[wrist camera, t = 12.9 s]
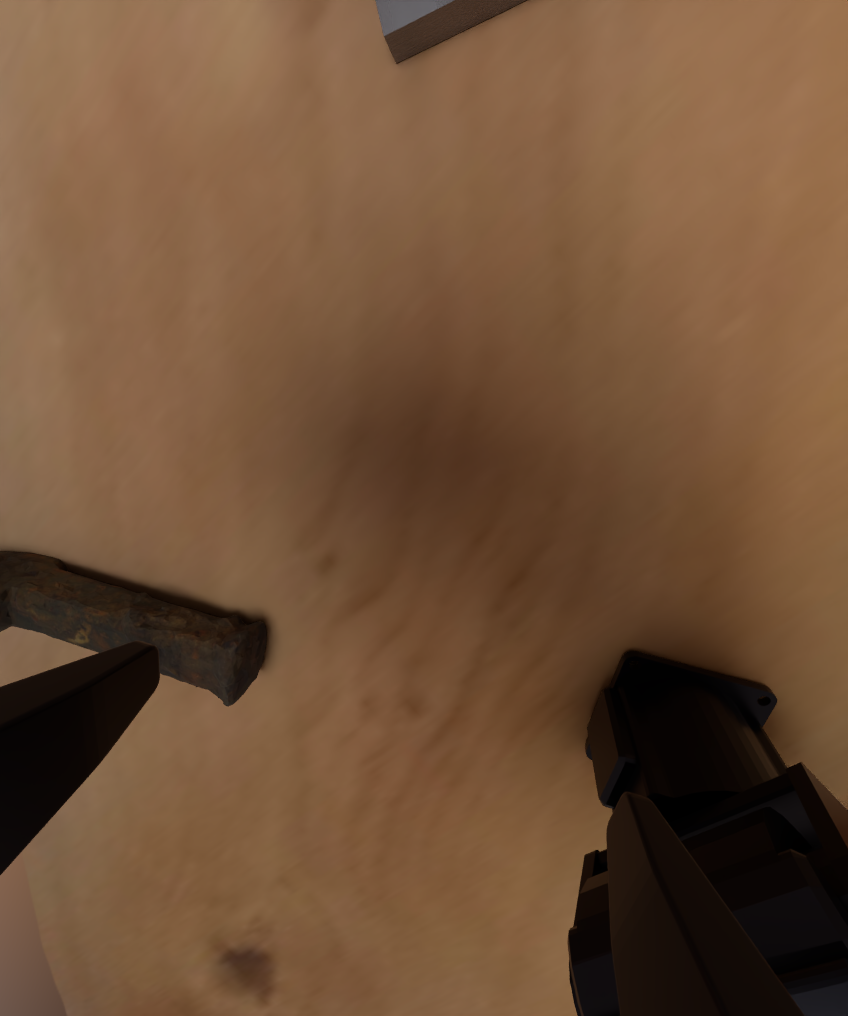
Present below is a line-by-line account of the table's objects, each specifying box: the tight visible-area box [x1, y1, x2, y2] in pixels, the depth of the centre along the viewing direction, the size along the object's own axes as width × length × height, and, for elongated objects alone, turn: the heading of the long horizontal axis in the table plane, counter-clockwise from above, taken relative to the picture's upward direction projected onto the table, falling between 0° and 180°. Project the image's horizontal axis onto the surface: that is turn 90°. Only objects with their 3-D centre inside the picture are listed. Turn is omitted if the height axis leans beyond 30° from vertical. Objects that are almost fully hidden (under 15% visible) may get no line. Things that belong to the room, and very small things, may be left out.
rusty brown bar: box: [0, 551, 267, 706], centre depth 25 cm, size 19×4×5 cm, turn 76°
